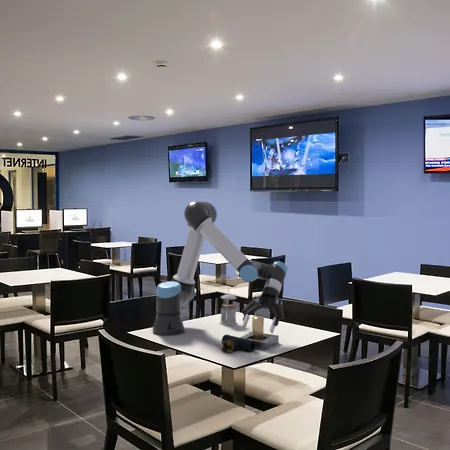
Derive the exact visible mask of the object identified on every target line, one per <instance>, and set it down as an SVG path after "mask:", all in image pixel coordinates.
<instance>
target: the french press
mask: <svg viewBox="0 0 450 450" xmlns="http://www.w3.org/2000/svg"><path fill="white" fill-rule="evenodd" d="M226 278H227V279H231V275H227V277H226ZM227 292H228V294H227V293H226V294H224V295H221V296H220V299H222V300H223V302H226V303H223V304H222V305H221V306H222V307H221V308H220V315H221V316H220V322H218V324H219V325H220V326H225V327H226V326H227V327H230V326H231V327H232V326H238V322H237V319H236V318H237V307H236V304H234V303H229V302H230V301H231V300H232V301H233V300H237V297H236V296H235V295H234V294H230V290H227Z"/></svg>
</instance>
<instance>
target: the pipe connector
mask: <svg viewBox="0 0 450 450" xmlns="http://www.w3.org/2000/svg"><path fill="white" fill-rule="evenodd" d="M240 337H241V336H240ZM240 337H239V336H234V335H229V334H224V335H223V336H222V338H221V346H222V347H221V352H225V353H227V354H230V353H233V352H235V351H244V352H248V353H254V352H255V351H256V350H257V349H256V342H255V341H253V340H249V339H244V338H240Z"/></svg>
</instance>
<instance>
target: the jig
mask: <svg viewBox="0 0 450 450" xmlns="http://www.w3.org/2000/svg"><path fill="white" fill-rule="evenodd" d="M240 338H244V339H249V340H253V339H252V331H249V332H248V333H246V334H244V335H242V336H240ZM253 341H255V342H256V349H255V350H260V351H261V350H262V351H267V350H269V349H271V348H273V347H274V346H275V345H277V344H279V335H278V334H273V333H264V336H263V341H260V340H253Z"/></svg>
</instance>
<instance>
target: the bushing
mask: <svg viewBox="0 0 450 450" xmlns="http://www.w3.org/2000/svg"><path fill="white" fill-rule="evenodd" d="M251 319H252V320H251V324H252V325H251V332H252V339H253V340H260V341H263V336H264V332H265V331H264V329H265V328H264V323H265V322H264V321H265V318H264V316H262V315H261V316H260V315H256V316H254V315H253V316H252V317H251Z"/></svg>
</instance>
